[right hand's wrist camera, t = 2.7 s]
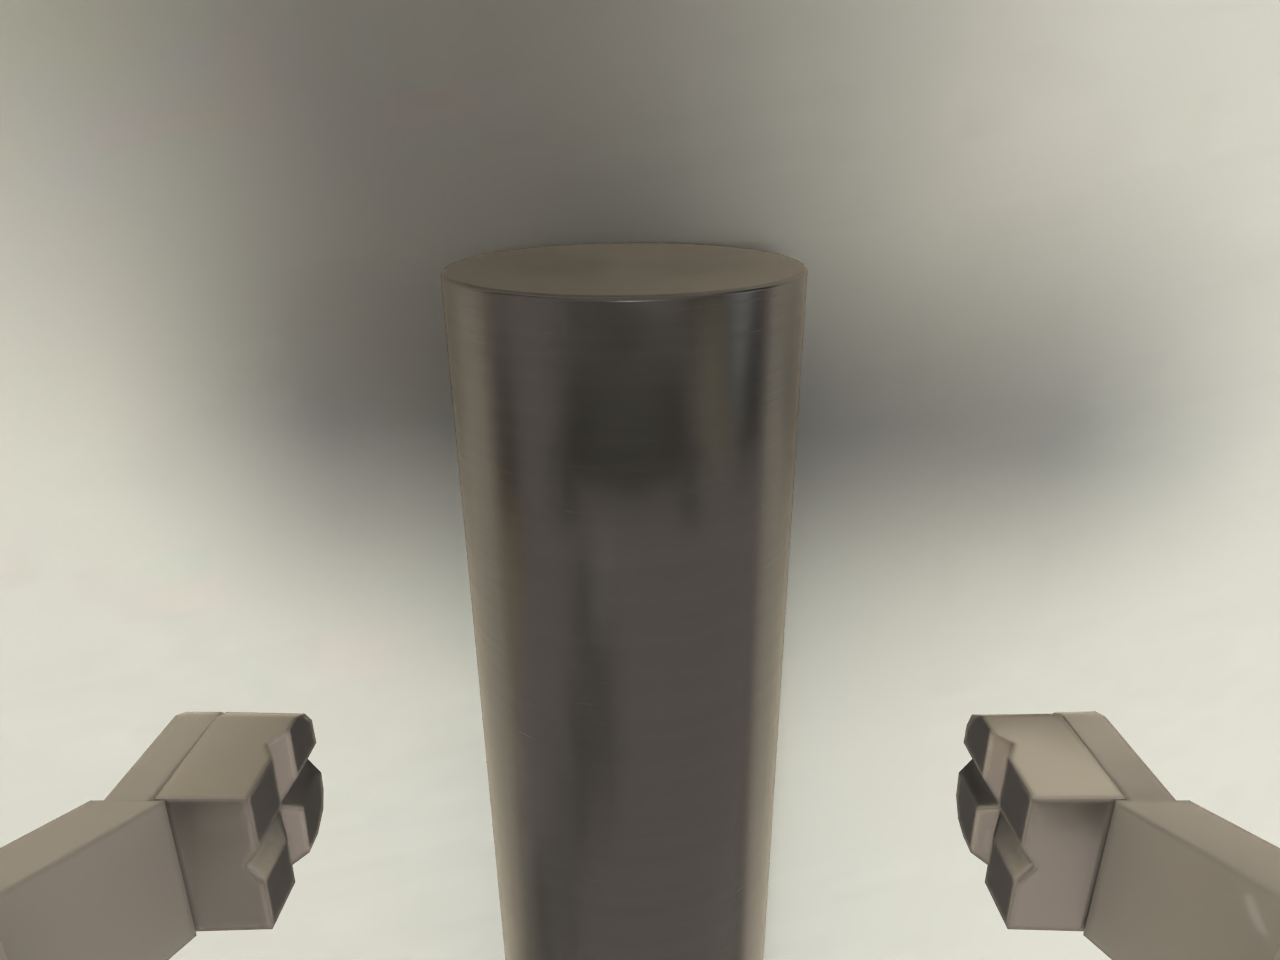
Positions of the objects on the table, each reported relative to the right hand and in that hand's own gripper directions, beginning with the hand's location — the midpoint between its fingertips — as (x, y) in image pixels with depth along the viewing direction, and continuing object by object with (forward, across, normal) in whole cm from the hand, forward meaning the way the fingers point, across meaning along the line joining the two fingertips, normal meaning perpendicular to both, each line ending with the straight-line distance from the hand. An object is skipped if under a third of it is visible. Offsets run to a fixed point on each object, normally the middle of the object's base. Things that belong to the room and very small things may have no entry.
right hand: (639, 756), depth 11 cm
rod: (+10, 0, +7) cm, 12 cm away
